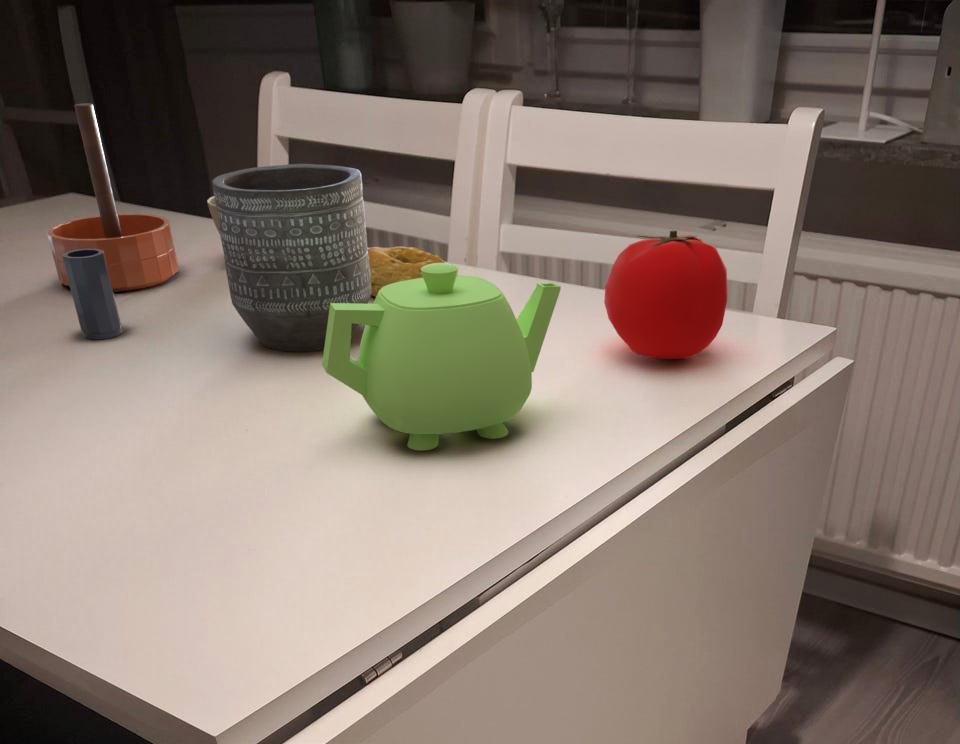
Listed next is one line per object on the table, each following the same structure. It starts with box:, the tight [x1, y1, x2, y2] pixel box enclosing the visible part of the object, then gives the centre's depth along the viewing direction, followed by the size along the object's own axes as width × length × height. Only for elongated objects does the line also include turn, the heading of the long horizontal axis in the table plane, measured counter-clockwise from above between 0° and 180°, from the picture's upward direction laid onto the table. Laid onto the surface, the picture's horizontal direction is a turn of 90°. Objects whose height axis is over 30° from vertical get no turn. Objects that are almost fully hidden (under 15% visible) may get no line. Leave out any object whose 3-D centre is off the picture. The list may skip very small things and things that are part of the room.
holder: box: [62, 249, 123, 341], centre depth 105 cm, size 4×4×8 cm
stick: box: [74, 102, 122, 238], centre depth 119 cm, size 2×2×18 cm
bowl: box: [46, 213, 179, 293], centre depth 123 cm, size 14×14×6 cm
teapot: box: [321, 262, 562, 451], centre depth 81 cm, size 20×13×13 cm
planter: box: [211, 163, 372, 353], centre depth 100 cm, size 14×14×15 cm
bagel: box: [367, 245, 446, 298], centre depth 116 cm, size 10×11×5 cm
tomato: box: [603, 230, 729, 360], centre depth 95 cm, size 12×12×11 cm
